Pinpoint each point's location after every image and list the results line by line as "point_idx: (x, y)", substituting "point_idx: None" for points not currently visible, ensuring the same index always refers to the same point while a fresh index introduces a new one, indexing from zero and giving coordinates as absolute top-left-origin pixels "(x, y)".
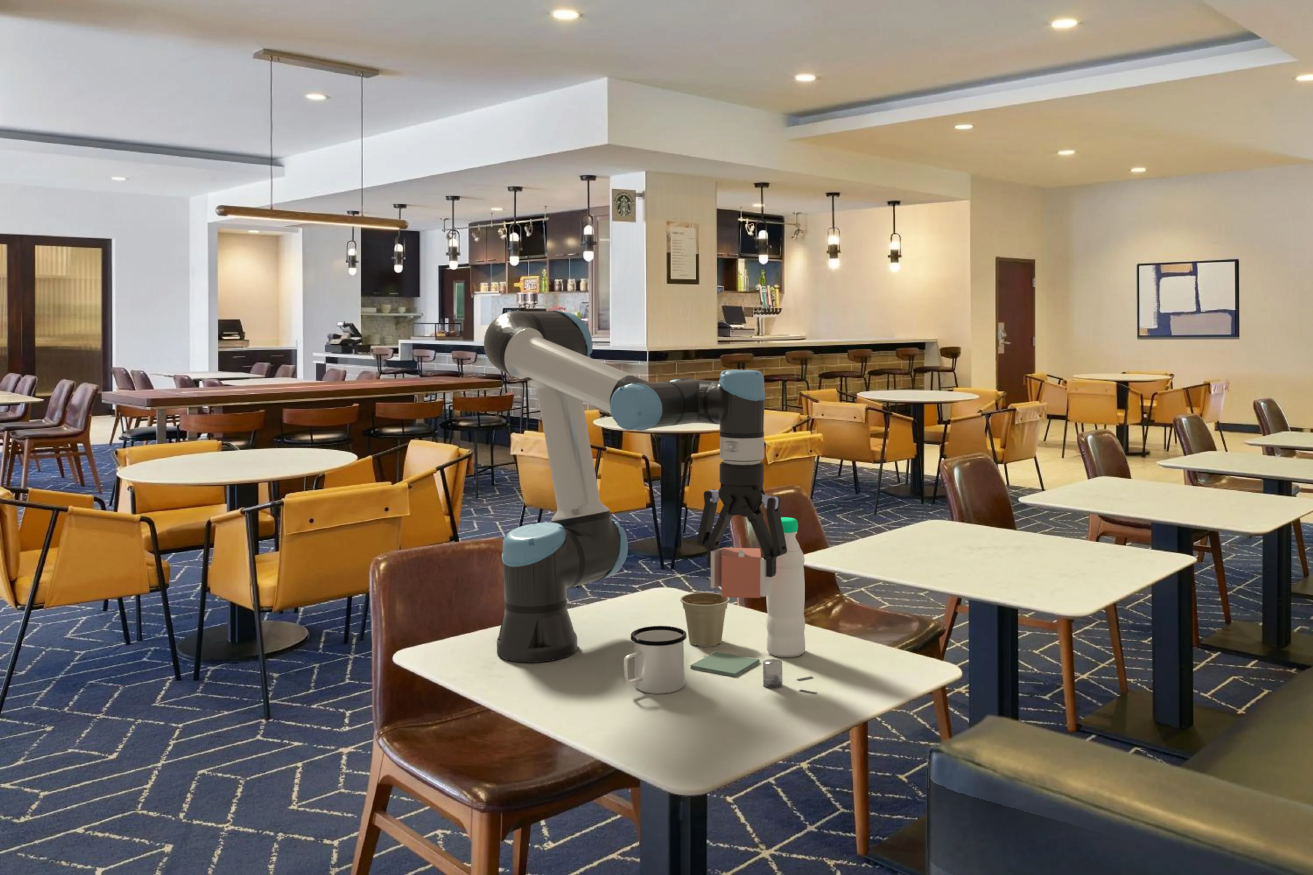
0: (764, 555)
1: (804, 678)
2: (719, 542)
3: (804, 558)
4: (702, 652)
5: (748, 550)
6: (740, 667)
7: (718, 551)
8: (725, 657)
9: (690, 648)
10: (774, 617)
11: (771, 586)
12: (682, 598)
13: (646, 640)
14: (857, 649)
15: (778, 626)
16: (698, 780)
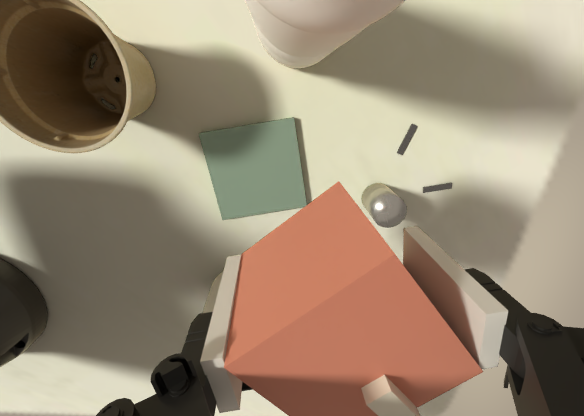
0: (507, 377)
1: (406, 141)
2: (206, 401)
3: None
4: (170, 138)
5: (366, 324)
6: (295, 177)
7: (232, 379)
8: (237, 150)
9: (134, 133)
10: (302, 57)
11: (427, 236)
12: (2, 114)
13: (250, 387)
14: None
15: (314, 61)
16: (438, 410)
